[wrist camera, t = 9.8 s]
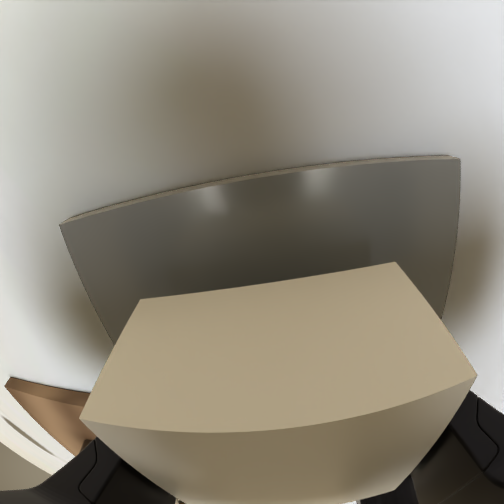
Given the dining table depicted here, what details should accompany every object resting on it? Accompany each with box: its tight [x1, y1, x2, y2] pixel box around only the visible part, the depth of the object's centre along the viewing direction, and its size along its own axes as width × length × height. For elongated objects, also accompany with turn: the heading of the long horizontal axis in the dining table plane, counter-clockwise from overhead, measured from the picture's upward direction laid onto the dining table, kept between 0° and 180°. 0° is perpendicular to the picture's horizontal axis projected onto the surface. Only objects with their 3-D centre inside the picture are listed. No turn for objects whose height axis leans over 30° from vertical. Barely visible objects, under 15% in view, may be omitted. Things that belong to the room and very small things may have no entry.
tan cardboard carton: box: [79, 262, 477, 504], centre depth 6 cm, size 6×6×4 cm
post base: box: [5, 377, 96, 456], centre depth 12 cm, size 12×12×7 cm
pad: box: [59, 155, 460, 345], centre depth 9 cm, size 12×10×1 cm
